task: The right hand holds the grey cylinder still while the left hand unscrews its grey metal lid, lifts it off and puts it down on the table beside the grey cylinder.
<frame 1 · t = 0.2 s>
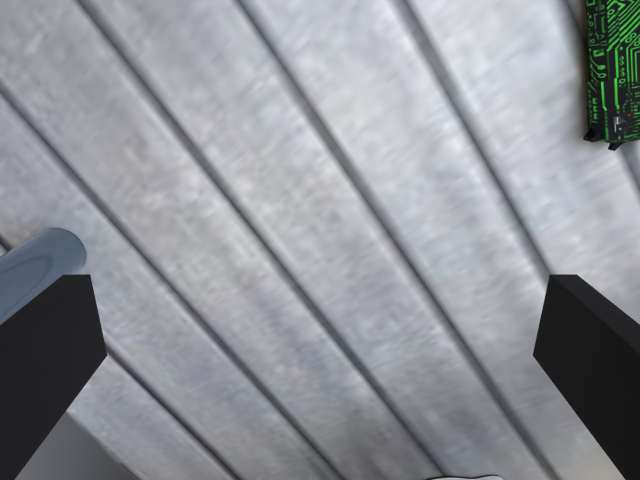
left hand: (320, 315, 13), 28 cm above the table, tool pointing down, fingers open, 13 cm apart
grey cylinder: (60, 251, 42), on the table
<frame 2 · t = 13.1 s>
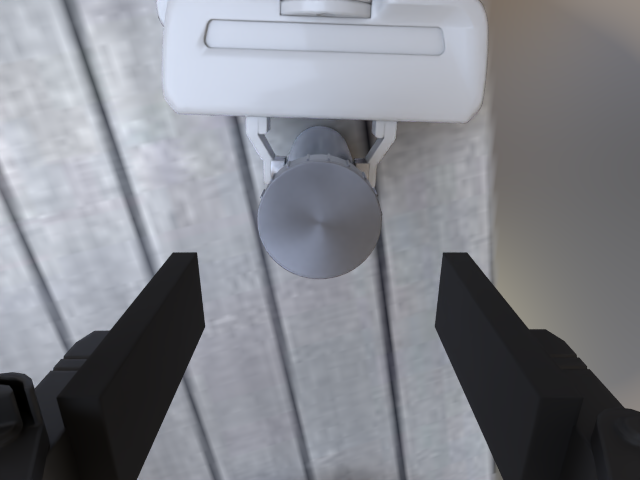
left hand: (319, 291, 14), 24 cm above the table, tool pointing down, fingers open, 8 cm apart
right hand: (320, 184, 31), fingers closed on grey cylinder, 5 cm apart
grey cylinder: (319, 155, 37), on the table, touching right hand
lid: (319, 221, 21), point 17 cm above the table, screwed on, not yet turned
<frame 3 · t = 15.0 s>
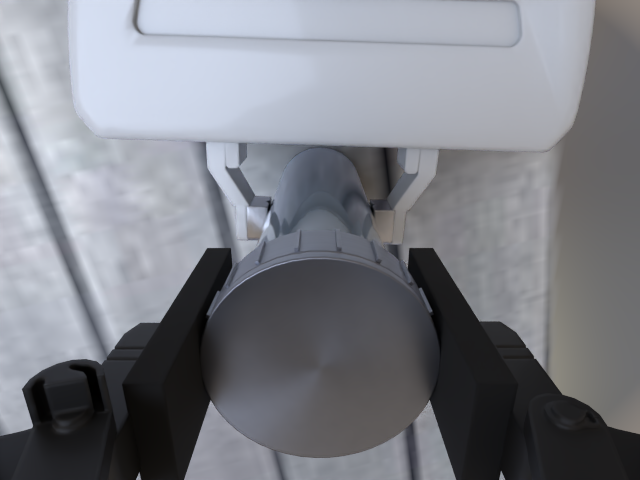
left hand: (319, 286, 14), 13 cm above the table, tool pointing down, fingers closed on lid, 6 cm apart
grey cylinder: (320, 187, 27), on the table, touching right hand
lid: (320, 358, 11), point 17 cm above the table, screwed on, not yet turned, touching left hand
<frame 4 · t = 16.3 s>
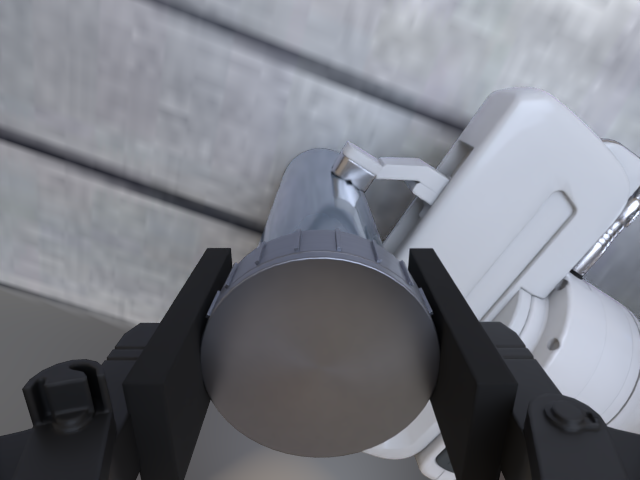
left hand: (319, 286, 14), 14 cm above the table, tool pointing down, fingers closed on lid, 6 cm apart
grey cylinder: (320, 187, 27), on the table, touching right hand
lid: (320, 358, 11), point 18 cm above the table, off its thread, touching left hand
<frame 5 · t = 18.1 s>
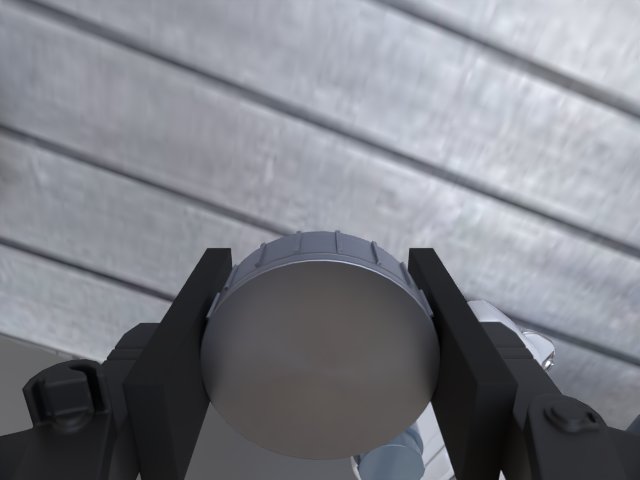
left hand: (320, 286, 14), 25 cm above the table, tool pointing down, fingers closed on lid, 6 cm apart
grey cylinder: (366, 328, 44), on the table, touching right hand
lid: (320, 360, 11), point 29 cm above the table, off its thread, touching left hand
when the left hand's fingers open (0 cm above the table, at t = 22.2 s): lid drops 3 cm, point 1 cm above the table.
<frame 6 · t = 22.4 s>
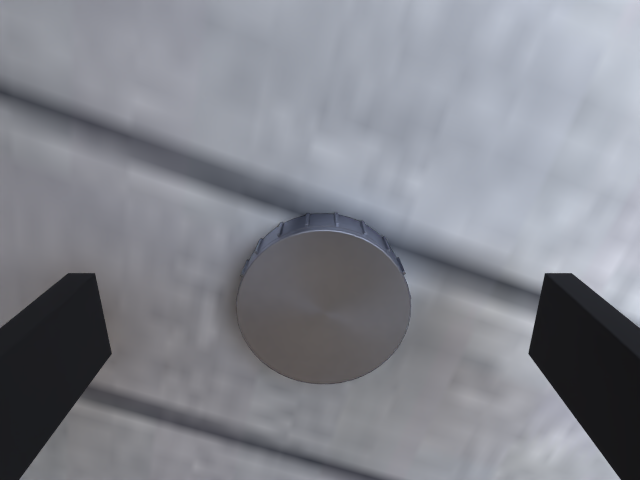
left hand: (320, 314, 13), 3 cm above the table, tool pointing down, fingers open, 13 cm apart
lid: (323, 307, 15), point 1 cm above the table, off its thread
when the right hand's fingers open (6 cm above the table, at t = 22.9 s): grey cylinder stays where it is, on the table.
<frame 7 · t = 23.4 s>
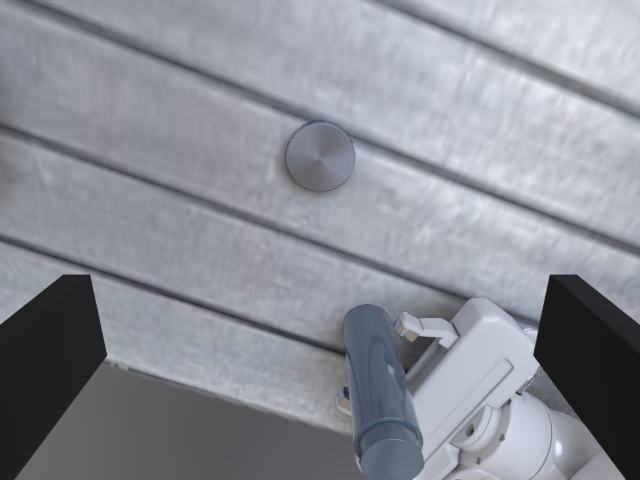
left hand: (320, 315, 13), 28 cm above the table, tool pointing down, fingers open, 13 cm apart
right hand: (367, 360, 39), fingers open, 8 cm apart
grey cylinder: (366, 324, 45), on the table
lid: (320, 157, 37), point 1 cm above the table, off its thread
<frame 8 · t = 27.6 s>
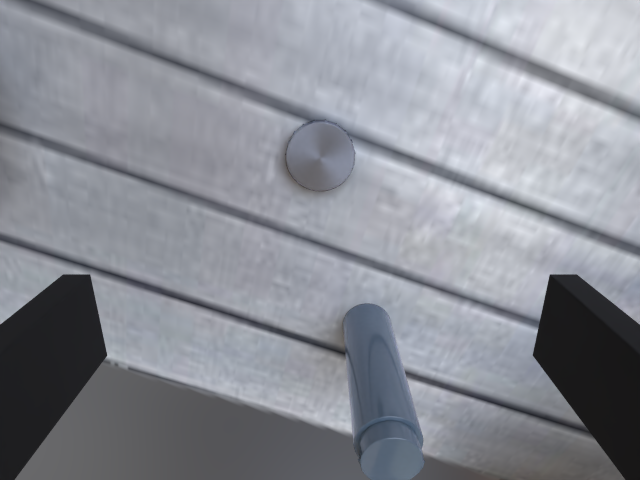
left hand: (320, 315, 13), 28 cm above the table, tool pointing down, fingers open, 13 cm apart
grey cylinder: (366, 324, 45), on the table
lid: (320, 157, 37), point 1 cm above the table, off its thread
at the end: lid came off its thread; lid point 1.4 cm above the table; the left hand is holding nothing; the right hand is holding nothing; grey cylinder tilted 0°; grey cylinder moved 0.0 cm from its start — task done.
